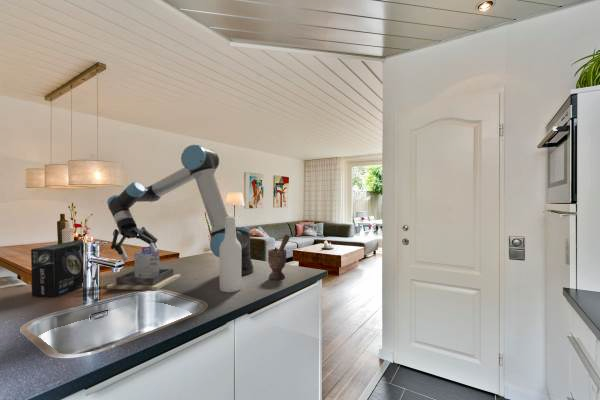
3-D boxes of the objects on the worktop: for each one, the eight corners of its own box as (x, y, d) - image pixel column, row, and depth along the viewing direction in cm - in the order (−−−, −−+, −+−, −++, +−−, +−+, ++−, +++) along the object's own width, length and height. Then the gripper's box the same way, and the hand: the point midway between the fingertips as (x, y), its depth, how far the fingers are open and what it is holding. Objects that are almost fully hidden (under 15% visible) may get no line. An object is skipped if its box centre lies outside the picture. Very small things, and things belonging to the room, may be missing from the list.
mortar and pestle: (276, 273, 147) (276, 233, 147) (292, 275, 144) (291, 234, 144) (264, 279, 137) (264, 236, 136) (281, 281, 133) (281, 237, 133)
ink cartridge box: (158, 276, 137) (158, 245, 137) (159, 279, 132) (159, 247, 132) (134, 279, 132) (134, 247, 132) (134, 282, 128) (134, 249, 127)
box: (54, 298, 111) (54, 248, 111) (30, 297, 112) (30, 248, 112) (101, 281, 134) (100, 239, 134) (80, 280, 135) (80, 239, 135)
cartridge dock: (180, 276, 141) (180, 268, 141) (157, 289, 121) (157, 279, 121) (137, 275, 143) (137, 267, 143) (106, 288, 123) (106, 278, 123)
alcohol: (227, 285, 127) (227, 216, 127) (245, 287, 124) (245, 216, 124) (215, 291, 119) (214, 217, 119) (233, 293, 116) (233, 218, 116)
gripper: (148, 225, 154) (164, 257, 145) (93, 229, 133) (108, 267, 125) (153, 215, 151) (170, 247, 142) (98, 218, 130) (114, 256, 122)
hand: (141, 256), depth 133 cm, fingers open, 13 cm apart
